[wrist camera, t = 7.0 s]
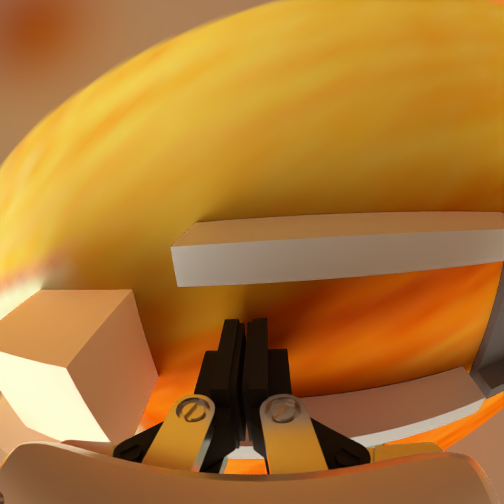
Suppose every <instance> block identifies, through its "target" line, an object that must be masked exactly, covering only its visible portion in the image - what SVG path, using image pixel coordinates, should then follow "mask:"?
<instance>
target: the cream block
mask: <svg viewBox="0 0 504 504" xmlns="http://www.w3.org/2000/svg"><path fill="white" fill-rule="evenodd" d="M158 377H159V376H158V373H157V370H156V367H155V364H154V361H153V358H152V355H151V352H150V349H149V346H148V343H147V340H146V337H145V333H144V330H143V327H142V323H141V320H140V316H139V313H138V309H137V305H136V301H135V298H134V294H133V290H132V289H120V290H39V291H38V292H36V293H35V294H34V295H32V296H31V297H30V298H28V299H27V300H26V301H24V302H23V303H22V304H20V305H19V306H18V307H17V308H15V309H14V310H13V311H12V312H10V313H9V314H8V315H7V316H5V317H4V318H3V319H2V320H0V390H1V392H2V393H3V395H4V396H5V398H6V399H7V401H8V402H9V404H10V405H11V407H12V408H13V410H14V411H15V412H16V414H17V415H18V417H19V418H20V419H21V421H22V422H23V423H24V425H25V426H26V427H28V428H30V429H33V430H35V431H37V432H39V433H42V434H44V435H46V436H49V437H51V438H54V439H56V440H59V441H62V442H63V441H65V440H82V441H96V442H113V443H114V444H115V445H118V444H119V443H121V442H123V441H124V440H126V439H129V438H131V437H133V436H134V435H135V432H136V430H137V427H138V425H139V422H140V420H141V417H142V415H143V413H144V410H145V408H146V405H147V403H148V401H149V398H150V396H151V394H152V391H153V389H154V387H155V384H156V382H157V380H158Z"/></svg>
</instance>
